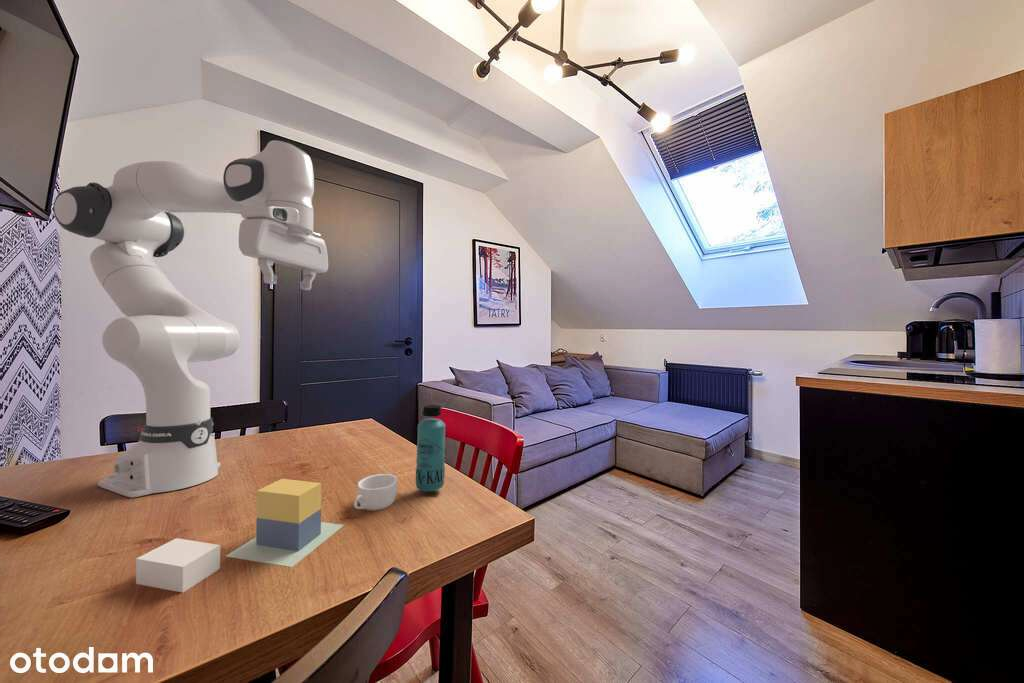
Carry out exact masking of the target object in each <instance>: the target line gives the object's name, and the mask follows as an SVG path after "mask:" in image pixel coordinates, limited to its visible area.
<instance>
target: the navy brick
mask: <svg viewBox="0 0 1024 683" xmlns="http://www.w3.org/2000/svg"><path fill="white" fill-rule="evenodd" d="M321 522H322V508H321V509H320V510H318V511H317V512H315V513H314V514H312V515H311V516H309V517H308V518H306V519H305V520H303V521H302V522H301V523H299V524H298V523H291V522H284V521H276V520H269V519H262V518H257V517H256V525H255V526H256V527H255V528H256V529H255V530H256V532H255V533H256V534H255V535H256V536H255V537H256V545H261V546H268V547H274V548H281V549H287V550H294V551H299V550H301V549H302V548H303V547H305V546H306V545H307V544H309V543H310V542H311V541H312V540H314V539H315V538H316V537H318V536H319V535H320V534H321Z"/></svg>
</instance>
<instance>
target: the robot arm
mask: <svg viewBox="0 0 1024 683" xmlns="http://www.w3.org/2000/svg"><path fill="white" fill-rule="evenodd" d="M314 193H315V174H314V165H313V162H312V159H311V157H310V155H309V154H308V153H307V152H305V150H303V149H302V148H300V147H298V146H296V145H294V144H293V143H290V142H288V141H283V140H280V139H279V140H278V139H276V140H275V139H274V140H270V141H269V142H268V143H267V144H266V146H265V147H264V148H263V150H262V151H261V152H259V153H256V154H255V155H253V156H250V157H246V158H243V157H242V158H238V159H235V160H233V161H230V162H229V163H228V164H227V165H226V166H225V169H224V170H223V180H221V179H219V178H217V177H214V176H212V175H210V174H207V173H205V172H203V171H201V170H199V169H196V168H193V167H191V166H188V165H186V164H182V163H177V162H172V161H169V160H168V161H167V160H152V161H151V160H150V161H142V162H141V161H140V162H136V163H132V164H128V165H125V166H124V167H121V168H119V169H118V170H117V171H116V172H115V174H114V176H113V180H112V184H111V185H110V186H107V187H105V186H103V185H101V184H100V183H98V182H89V183H88V184H86V185H83V186H73V187H70V188H68V189H65V190H62V191H60V192H59V193H58V194H57V196H56V197H55V199H54V202H53V215H54V218H55V220H56V221H57V223H58V224H59V226H60V227H62V229H63V230H66V231H68V232H70V233H73V234H74V235H77V236H80V237H81V236H82V237H85V238H94V239H97V240H100V241H104V243H102V244H101V245H98V246H97V247H95V248H94V249H93V250H92V251H91V253H90V256H89V257H90V259H89V260H90V264H91V267H92V269H93V272H94V274H95V276H96V278H97V281H98V282H99V284H100V285H101V286H102V287H103V289H104V291H106V293H107V295H108V296H109V297H110V298H111V300H112V301H113V302H114V304H115V305H116V307H117V308H118V309H119V311H120V312H121V313H122V314H123V315H124V317H118V318H116V319H114V320H113V321H111V322H110V323H109V324H107V327H106V328H105V329H104V332H103V334H102V341H101V342H102V345H103V346H102V347H103V349H104V351H105V352H106V353H107V355H108V356H109V357H110V358H111V359H112V360H114V361H116V362H118V363H120V364H122V365H123V366H125V367H126V368H128V369H129V370H130V371H131V372H132V373H133V374H134V375H135V376H136V378H137V379H138V381H139V382H140V384H141V386H142V388H143V392H144V397H145V398H144V399H145V413H146V414H145V415H146V417H145V418H146V424H144V425H140V426H137V428H138V430H137V432H140V436H139V439H138V441H137V442H136V443H134V444H132V446H131V447H130V448H128V449H127V450H126V451H124V452H123V453H121V454H120V455H118V457H116V459H115V462H114V467H113V468H114V469H113V470H114V472H113V474H112V475H110V476H108V477H105V478H103V479H101V480H99V481H98V484H97V487H99V486H100V487H99V488H102V489H105V490H108V491H111V492H113V493H116V494H119V495H121V496H124V497H126V498H137V497H142V496H146V495H150V494H151V495H152V494H158V493H166V492H173V491H177V490H181V489H182V490H183V489H185V488H190V487H193V486H196V485H200V484H203V483H206V482H207V481H210V480H212V479H213V478H215V477H216V476H218V475H219V468H221V466H222V465H221V462H220V461H218V457H217V447H216V441H215V440H216V439H215V437H214V436H213V435H212V433H213V430H214V427H213V426H214V422H213V417H212V416H211V398H212V397H211V394H212V393H211V388H210V386H209V385H208V383H206V382H205V381H203V380H201V379H198V378H196V377H193V376H192V374H191V372H190V371H189V367H188V363H197V362H211V361H216V360H220V359H223V358H227V357H231V356H233V355H234V354H235V353H236V352H237V350H238V348H240V343H241V334H240V332H239V330H238V329H237V326H235V325H234V324H233V323H231V322H229V321H227V320H223V319H221V318H219V317H218V316H217V317H216V316H215V315H212V314H211V313H210V312H207V311H205V310H204V309H203V308H201V307H200V306H198V305H196V303H194V302H192V301H191V300H190V299H188V298H187V297H186V296H184V294H182V293H181V292H180V291H179V290H178V289H177V287H175V285H174V284H173V283H172V282H171V281H170V279H169V278H168V277H167V276H166V275H165V273H164V272H163V270H162V269H161V268H160V267H159V266H158V265H157V263H156V262H155V261H154V258H162V257H165V256H167V255H168V254H169V252H172V251H174V250H175V249H176V248H177V247H179V245H181V243H182V242H183V239H184V237H185V228H184V225H183V223H182V221H181V219H180V218H179V217H178V216H176V215H175V214H173V213H177V214H178V213H213V214H214V213H219V214H223V213H224V214H225V213H226V214H240V215H241V218H242V219H241V222H240V224H239V228H238V249H239V251H240V252H241V254H242V255H243V256H246V257H250V258H254V259H257V265H258V267H259V269H260V271H261V273H262V275H263V283H264V284H269V285H276V284H277V283H278V275H277V274H275V273H274V270H273V268H272V266H273V265H274V264H277V265H278V264H279V265H282V266H285V267H291V268H294V269H298V270H302V271H303V272H302V273H303V275H304V278H303V280H302V281H299V289H301V290H304V291H311V290H312V283H313V281H314V280H315V278H316V275H317V274H319V273H320V274H321V273H322V274H323V273H324V274H325V273H326V272H328V270H329V257H328V249H327V248H328V247H327V244H326V241H325V240H324V238H323V237H322V235H321V234H320V233H318V232H315V231H314V224H315V223H314V221H315V220H314V218H315V215H314V213H315V211H314V202H313V196H314V195H315V194H314ZM139 428H140V429H139Z"/></svg>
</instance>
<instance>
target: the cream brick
mask: <svg viewBox="0 0 1024 683" xmlns="http://www.w3.org/2000/svg"><path fill="white" fill-rule="evenodd" d="M220 569H221V544H215V543H209V542H204V541H203V542H202V541H199V540H198V541H197V540H190V539H183V538H177V537H176V538H174V539H172V540H170V541H168V542H166V543H164V544H162V545H160V546H158V547H156V548H154V549H152V550H150V551H148V552H146V553H144V554H143V555H140V556H138V557H137V558H135V584H136V585H139V586H144V587H145V586H146V587H152V588H156V589H157V588H158V589H162V590H168V591H173V592H176V593H177V592H178V593H185V592H186V591H188V590H189V589H191V588H192V587H194V586H195V585H198V584H199V583H200V582H202V581H203V580H205V579H206V578H208V577H209V576H212V575H213V574H214V573H215V572H217V571H219V570H220Z"/></svg>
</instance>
